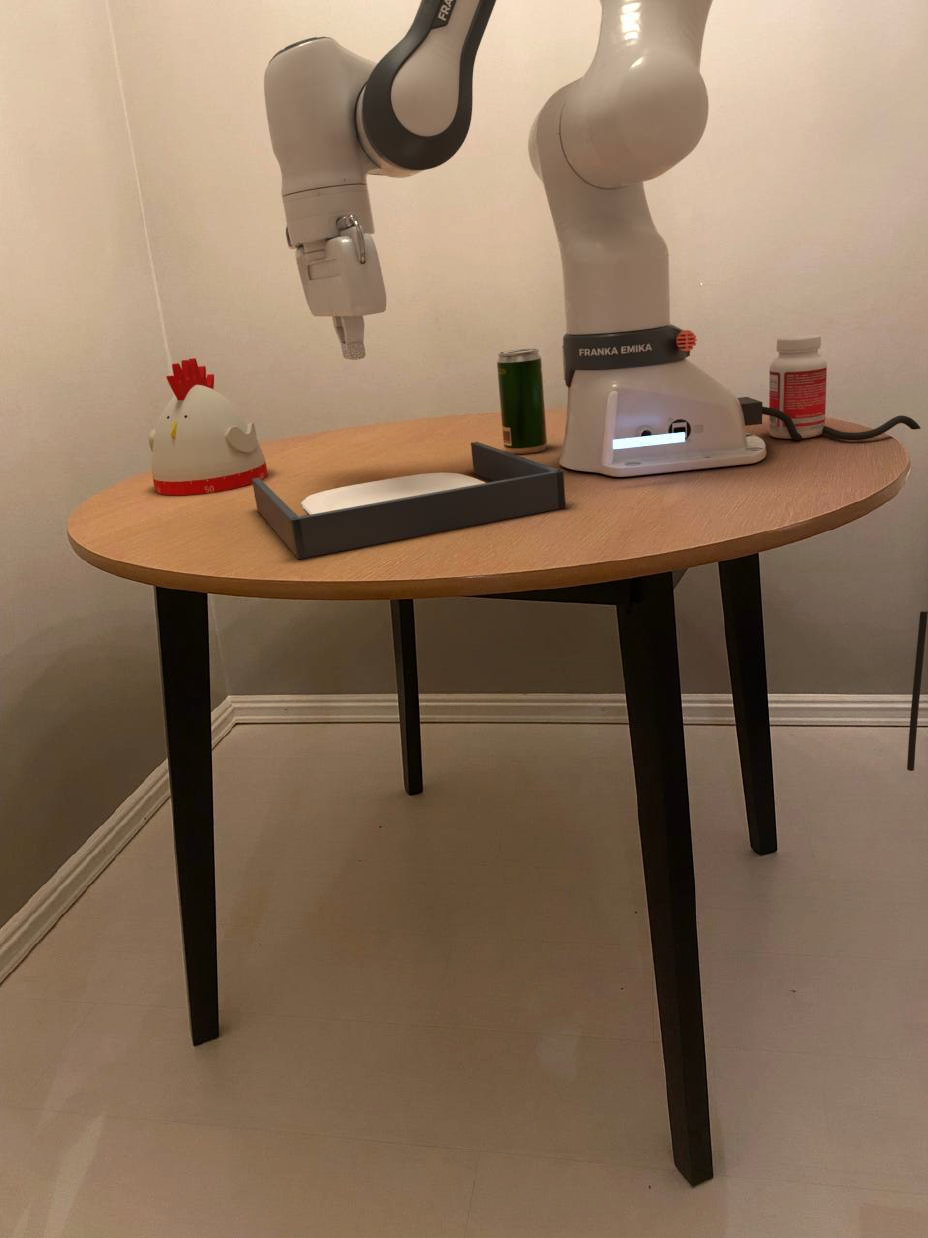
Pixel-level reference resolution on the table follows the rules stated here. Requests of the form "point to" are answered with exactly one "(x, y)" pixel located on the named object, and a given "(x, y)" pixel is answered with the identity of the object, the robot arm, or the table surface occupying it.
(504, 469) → the tray
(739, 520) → the table surface
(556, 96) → the robot arm
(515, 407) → the beer can
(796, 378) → the pill bottle
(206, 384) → the kitchen timer
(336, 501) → the plate
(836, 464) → the table surface
